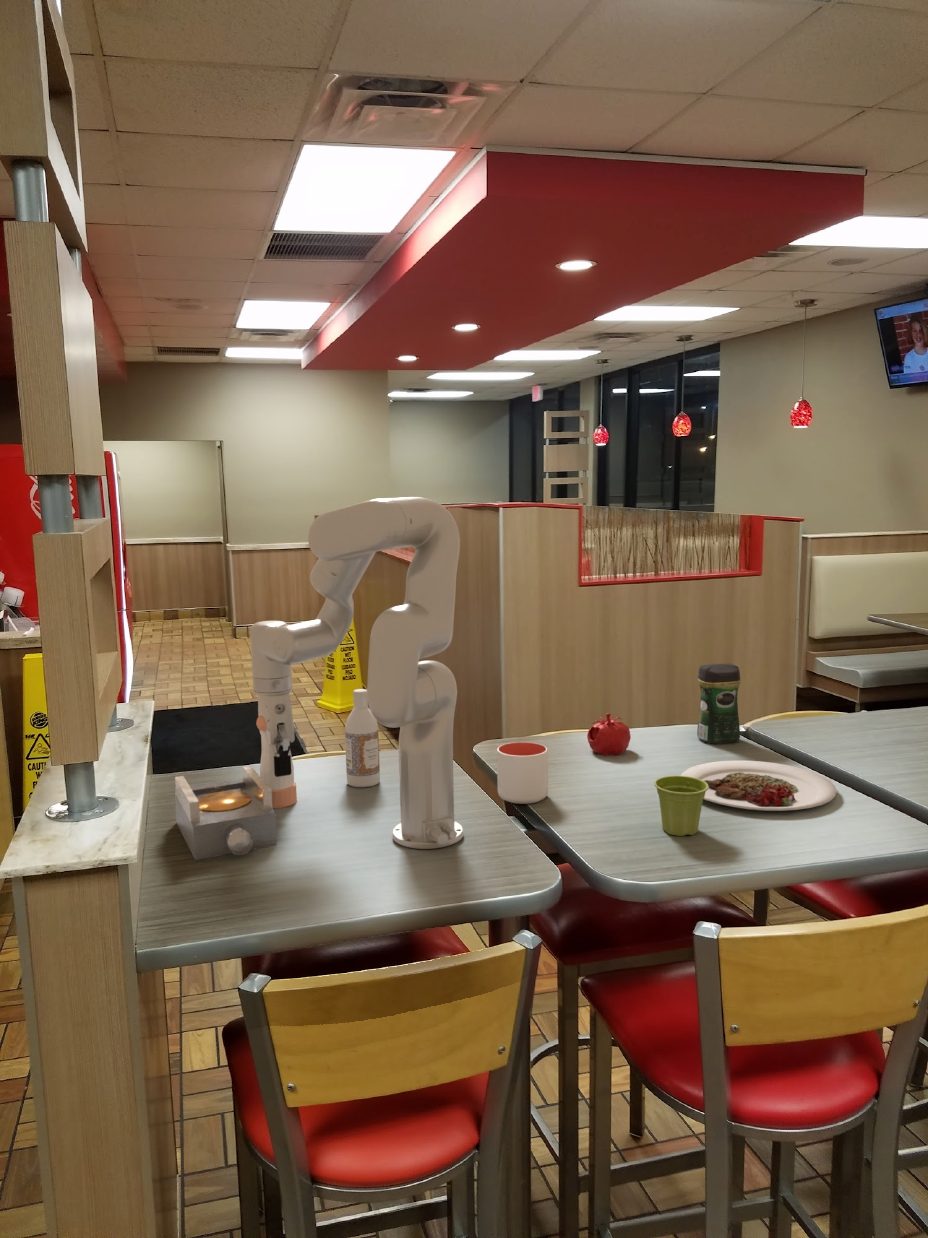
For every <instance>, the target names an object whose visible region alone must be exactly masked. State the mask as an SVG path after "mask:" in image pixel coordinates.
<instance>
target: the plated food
mask: <svg viewBox="0 0 928 1238" xmlns="http://www.w3.org/2000/svg"><path fill="white" fill-rule="evenodd" d="M679 776H688V777H694V778H697V779H700V780H703V781H705V782H706V783H707V784H708V790H707V791H706V792H705V796H704V798H703V800H704V801H708V802H712V803H714V804H718V805H723V806H728V807H731V808H736V809H745V810H751V811H752V810H753V811H754V810H755V811H762V812H763V811H766V812H770V811H771V812H777V811H780V812H781V811H783V812H784V811H797V810H804V809H811V808H815V807H818V806H819V807H820V806H823V805H825V804H827V803H829V802H831V801H832V800H833V799H834V798H836V794H837V788H836V787H837V786H836V785H835V784H834V783H833V782H832V781H831V780H829V779H828V778H826V777H825V776H823V775H820V774H818V773H816V772H814V771H811V770H808V769H805V768H800V767H797V766H793V765H789V764H784V763H778V762H768V761H759V760H757V761H756V760H719V761H713V762H712V761H711V762H705V763H702V764H697V765H694V766H691V767H689V768H687V769H685V770H683V772H682V773H681V774H680V775H679Z"/></svg>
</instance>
